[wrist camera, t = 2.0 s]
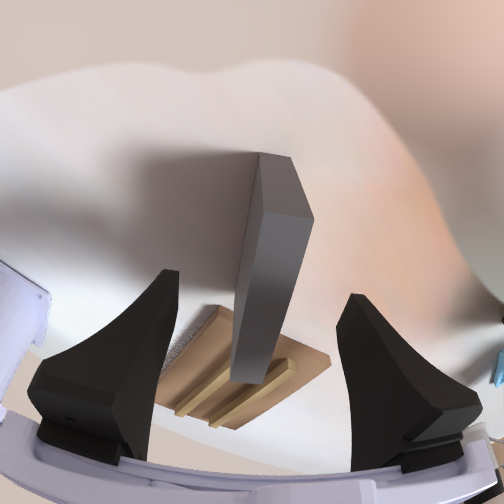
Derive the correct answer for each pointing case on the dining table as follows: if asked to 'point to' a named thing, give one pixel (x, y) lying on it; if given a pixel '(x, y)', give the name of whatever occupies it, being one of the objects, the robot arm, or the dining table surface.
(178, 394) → the board
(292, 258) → the grey upright slab
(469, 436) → the glass holder
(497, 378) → the chair
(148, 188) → the dining table surface
